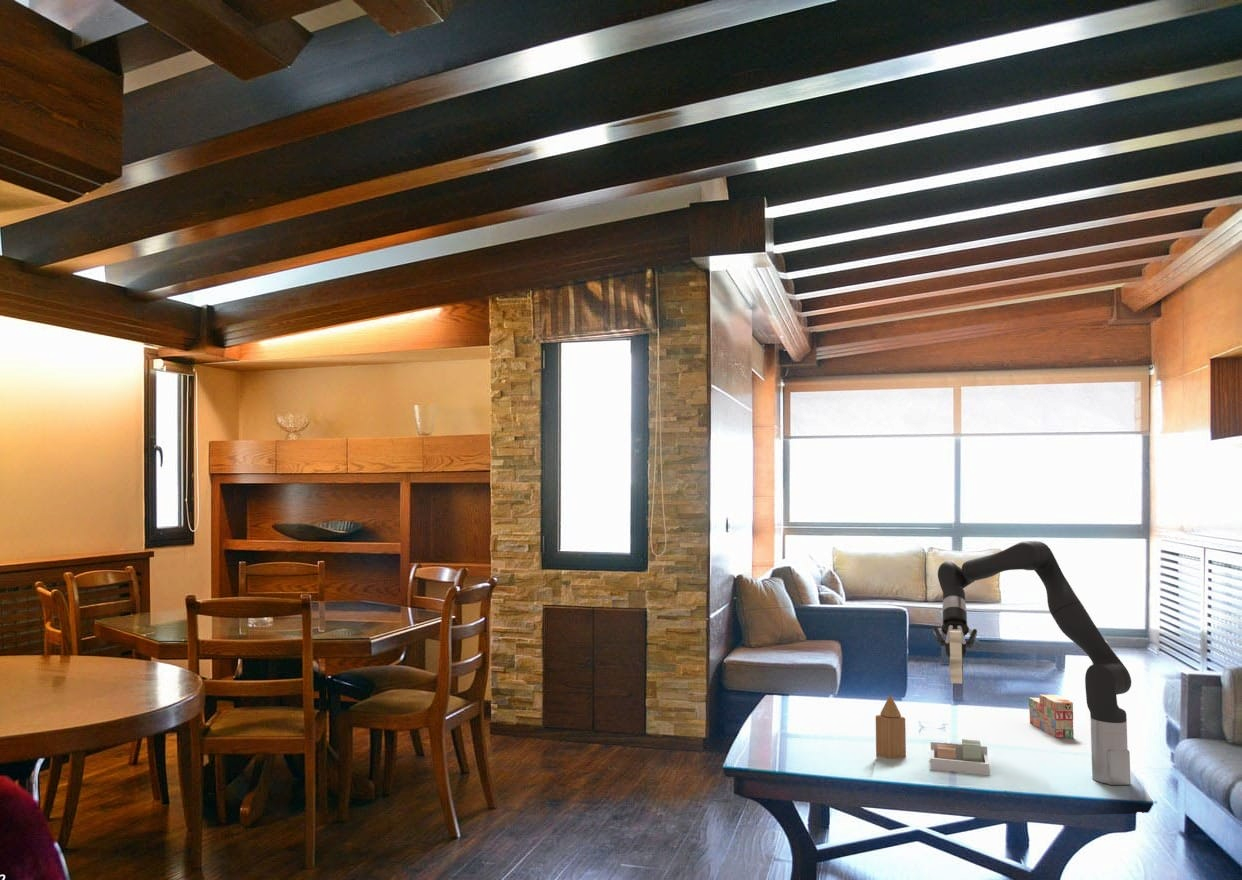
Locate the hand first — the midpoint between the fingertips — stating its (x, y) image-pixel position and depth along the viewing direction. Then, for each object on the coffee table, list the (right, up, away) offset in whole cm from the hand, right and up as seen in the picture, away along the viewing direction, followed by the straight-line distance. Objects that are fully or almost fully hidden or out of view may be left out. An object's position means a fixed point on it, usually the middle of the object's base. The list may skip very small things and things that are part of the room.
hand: (955, 655), depth 284 cm
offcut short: (-10, -28, -18) cm, 35 cm away
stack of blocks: (+45, -34, +30) cm, 64 cm away
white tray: (-5, -30, -15) cm, 34 cm away
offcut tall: (-3, -28, -20) cm, 35 cm away
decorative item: (-23, -30, -8) cm, 39 cm away
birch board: (+1, -9, +1) cm, 9 cm away
